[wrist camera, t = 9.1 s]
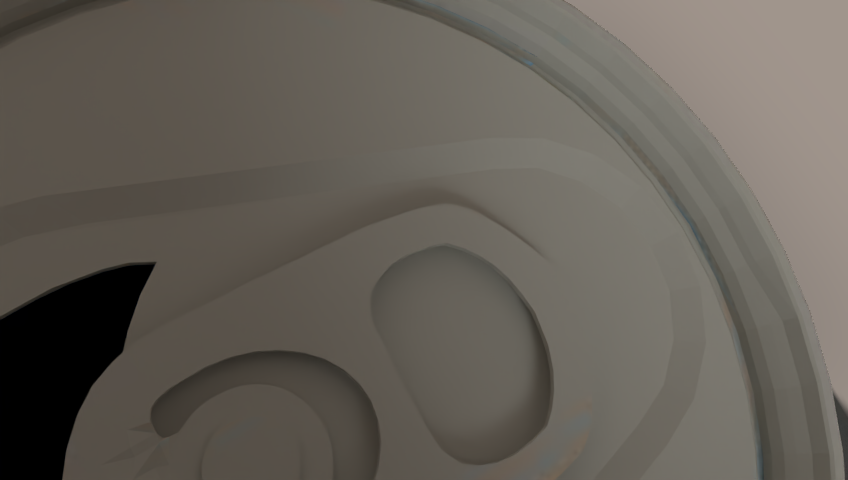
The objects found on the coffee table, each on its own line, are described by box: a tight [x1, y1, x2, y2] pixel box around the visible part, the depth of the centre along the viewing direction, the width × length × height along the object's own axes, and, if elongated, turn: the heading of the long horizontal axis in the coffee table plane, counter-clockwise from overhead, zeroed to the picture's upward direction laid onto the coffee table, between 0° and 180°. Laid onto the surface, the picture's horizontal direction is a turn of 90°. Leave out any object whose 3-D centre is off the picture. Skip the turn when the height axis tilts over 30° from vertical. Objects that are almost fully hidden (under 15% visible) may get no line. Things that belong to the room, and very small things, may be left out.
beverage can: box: [0, 0, 845, 480], centre depth 9 cm, size 6×6×12 cm
